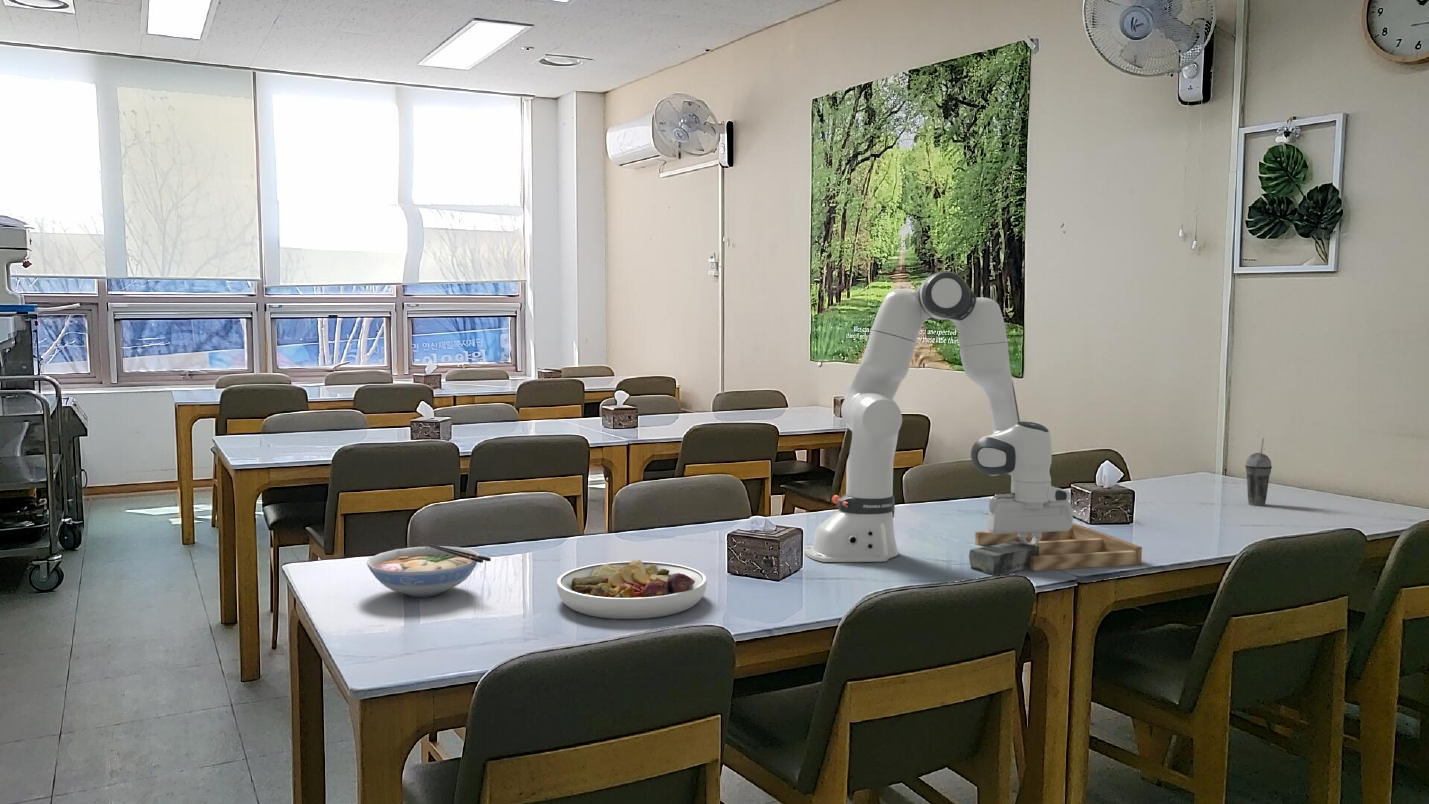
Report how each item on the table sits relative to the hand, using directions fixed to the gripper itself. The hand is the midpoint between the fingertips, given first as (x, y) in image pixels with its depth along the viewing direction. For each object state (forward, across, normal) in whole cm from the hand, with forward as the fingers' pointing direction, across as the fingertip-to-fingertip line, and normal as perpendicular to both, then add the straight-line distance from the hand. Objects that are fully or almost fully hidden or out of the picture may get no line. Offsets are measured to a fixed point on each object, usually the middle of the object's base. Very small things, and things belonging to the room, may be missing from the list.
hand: (1029, 551), depth 253 cm
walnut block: (+3, +11, +14) cm, 18 cm away
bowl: (+3, -95, -12) cm, 96 cm away
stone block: (+3, -8, -3) cm, 10 cm away
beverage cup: (+3, +104, +51) cm, 116 cm away
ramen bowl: (+3, -136, +4) cm, 136 cm away
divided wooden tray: (+3, +11, +7) cm, 13 cm away
